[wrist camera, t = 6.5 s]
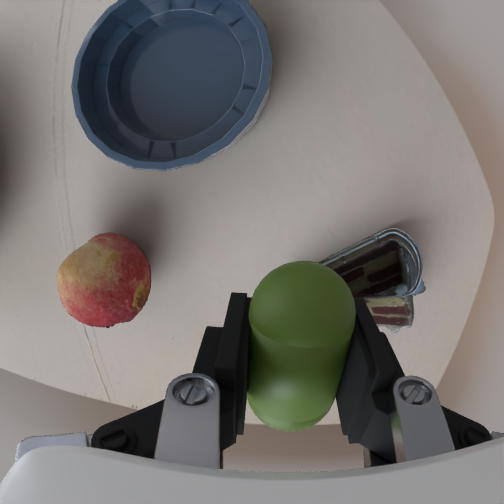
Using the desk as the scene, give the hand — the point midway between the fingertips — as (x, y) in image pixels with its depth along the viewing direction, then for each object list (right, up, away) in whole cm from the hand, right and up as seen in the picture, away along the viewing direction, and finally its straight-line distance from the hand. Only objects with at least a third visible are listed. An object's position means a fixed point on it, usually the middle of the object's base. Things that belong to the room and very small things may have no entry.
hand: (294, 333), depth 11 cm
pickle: (0, 0, 0) cm, 0 cm away
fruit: (-13, +2, +17) cm, 22 cm away
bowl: (-7, +17, +11) cm, 21 cm away
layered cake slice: (+8, 0, +17) cm, 18 cm away
